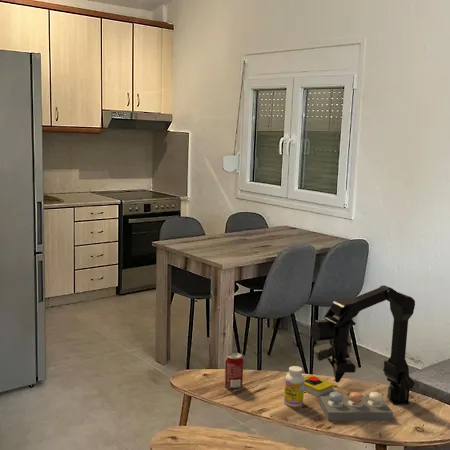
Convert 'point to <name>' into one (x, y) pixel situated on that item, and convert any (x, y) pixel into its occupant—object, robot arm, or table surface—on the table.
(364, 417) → the console
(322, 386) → the emergency button
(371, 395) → the cream button
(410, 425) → the table surface
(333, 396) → the slate button
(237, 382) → the soda can
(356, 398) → the terracotta button
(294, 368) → the supplement bottle
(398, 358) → the robot arm
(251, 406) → the table surface
